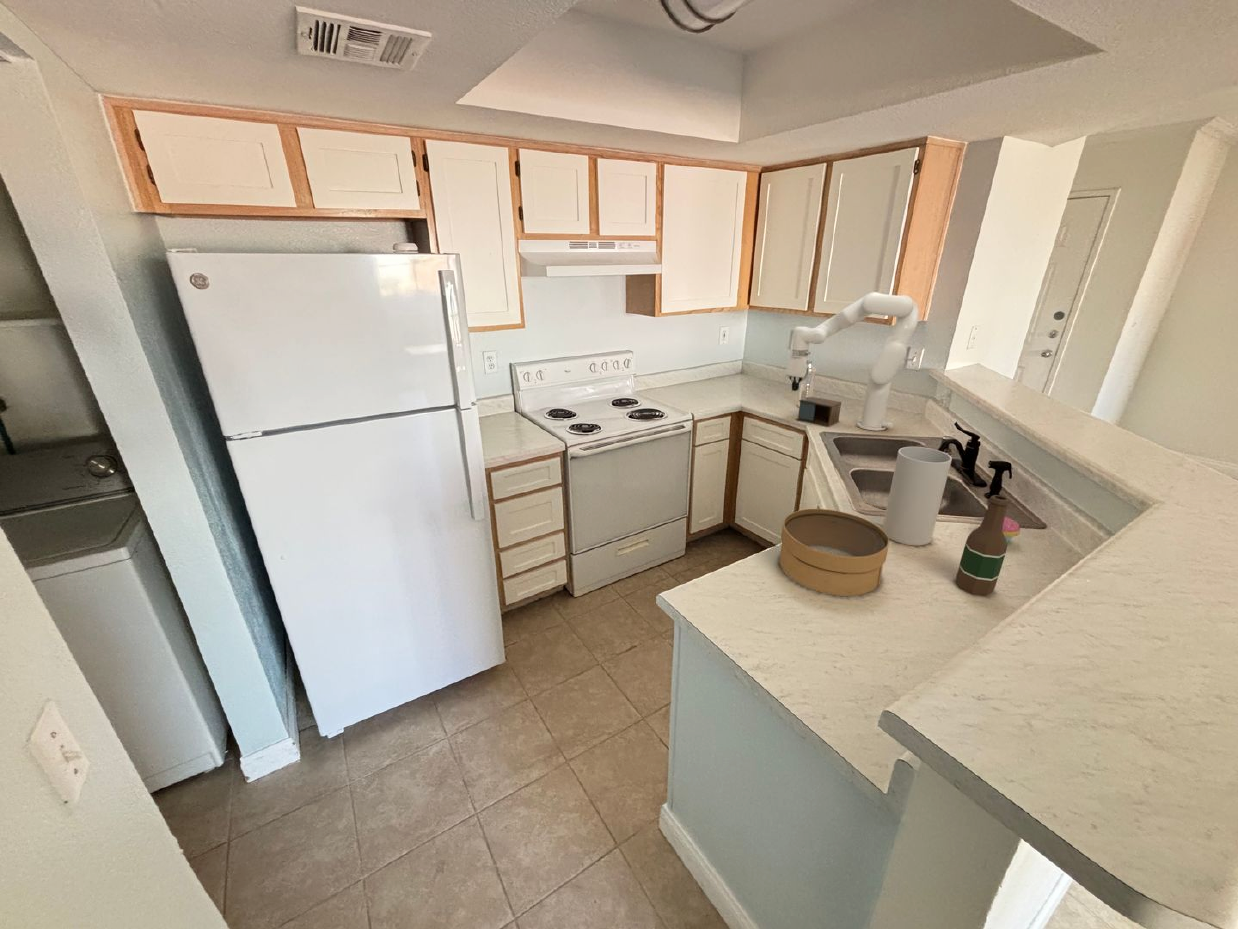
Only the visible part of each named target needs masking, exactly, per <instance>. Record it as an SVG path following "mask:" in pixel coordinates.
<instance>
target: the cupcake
mask: <svg viewBox="0 0 1238 929" xmlns="http://www.w3.org/2000/svg"><path fill="white" fill-rule="evenodd" d="M1020 533H1021V527H1020V525H1019V524H1018V522H1016V521H1015V520H1014V519H1012V518H1010V517H1008V516H1005V518H1004V523H1003V534H1004V536H1005V538H1006V541H1007V543H1009V542H1010V540H1011V539H1012V538H1013V537H1018V536H1019V535H1020Z"/></svg>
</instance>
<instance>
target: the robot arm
mask: <svg viewBox="0 0 1238 929" xmlns="http://www.w3.org/2000/svg"><path fill="white" fill-rule="evenodd" d="M873 314H874V315H880V316H886V317H894V318H896V319H895V323H894V325H893V327H892V329H891V331H890V333H889V335H888V337H887V338H886V340H885V342H884V343H883V345H882V347H881V350H880V353H879V355H878V356H877V359H876V361H875V362H873V363H872V365H871V367H870V369H869V373H868V380H867V387H866V392H865V398H864V405H863V410H862V415H861V420H860V421H858V422H857V423H856V426H857V427H858V428H860V429H862V430H866V431H867V430H868V431H874V432H875V431H876V432H877V431H884V430H886V429H887V428H890V429H893V425H894V424H893V422H890V421H887V418H885V416H886V411H887V406H888V401H889V397H890V392H891V386H892V381H893V379H894V377H895V376H896V374H897V372H898V370H899V368H900V367H901V365H902V363H903V361H904V360H905V357H906V355H907V352H908V350H907V349H908V348H907V347H908V345H909V342H910V341H911V338H912V337H913V334H914V332H915V331H916V329H917V326H918V323H919V320H920V319H919V318H920V315H919V308H918V306H917V304H916V302H915V301H914V299H913V298H911V297H910V296H909V295H906V294H901V295H894V294H885V293H880V292H879V291H871V292H869V293H867V294H866V295H864V296H862V297H861V298H859V299H858V300H856V301H854V302H853V303H851V304H849V305H848V306H846V307H845V308H844V309H842V310H840V311H839V312H837V313H836V314H835V315H833V316H831V317H830V318H828V319H826V320H825V321H823V322H821V323H820V324H819V325H817V326H815V327H813V328H812V327H811V328H810V327H809V326H801V325H800V326H796V327H794V329H793V336H792V344H791V352H790V353H791V354H790V355H789V356H788V360H787V364H786V368H785V377H786V378H787V379H789V380H790V382H791V391H793V392H797V391H799V390H800V383H801V381H802V380H807V376H808V375H809V361H810V355H811V351H809V346H810V344H814V345H821V344H823V343H825V341H826V340H827V339H828V338H831V337H832V336H833V335H835V334H837V333H838V332H841V331H842V330H844V329H848V328H850V327H852V326H854V325H856V324H857V323H859V322H861V321H863V320H864V319H865V318H867V317H869V316H871V315H873ZM802 377H803V378H802Z"/></svg>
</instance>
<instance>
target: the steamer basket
mask: <svg viewBox="0 0 1238 929" xmlns="http://www.w3.org/2000/svg"><path fill="white" fill-rule="evenodd" d="M780 539H781V546H780V553H779V565H780V567H781V570H783V572H784V573H785V574H786V575H787V576H788V577H789V578H790V579H792V580H793V581H795V582H796V583H798V584H800V585H801V586H803V587H805V588H808V589H810V590H812V591H816V592H820V593H822V594H827V595H830V596H831V595H833V596H841V597H856V596H860V595H861V596H862V595H864V594H868V593H871V592H872V591H874V590H875V589H876V588H878V587H879V585H880V584H881V579H882V574H883V573H882V572H883V566H884V564H886V561H887V559H888V558H887V557H888V552H889V548H890V547H889V546H890V538H889V537H888V535H887V534H886V533H885V532H884V531H883V530H882V528H881V527H880V526H878V525H877V524H875V523H873V522H871V521H869V520H867V519H865V518H863V517H861V516H858V515H855V514H851V513H848V512H844V511H839V510H834V509H826V508H807V509H800V510H796V511H793V512H791V513H789V514H788V515H786V516H785V518H784V519H783V521H782V527H781V535H780ZM811 546H813V547H811ZM817 547H819V548H817ZM827 547H828V548H827Z"/></svg>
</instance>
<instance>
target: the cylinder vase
mask: <svg viewBox="0 0 1238 929" xmlns="http://www.w3.org/2000/svg"><path fill="white" fill-rule="evenodd" d="M952 460H953V457H952V456H951V455H949V454H948V453H946V452H944V451H941V450H938V449H934V448H929V447H924V446H905V447H901V448H899V449H898V451H897V456H896V461H895V467H894V471H893V474H892V475H893V476H892V481H891V485H890V489H889V495H888V499H887V504H886V507H885V508H886V510H885V513H884V518H883V523H882V528H881V529H882V530H883V531H884V532H885V533H886V534H887V535H888V537H889V540H892V541H894V542H897V543H899V544H903V545H905V546H912V547H913V546H914V547H915V546H916V547H919V546H925V545H927V544H930V543H931V541H932V539H933V535H934V531H935V528H936V524H937V519H938V515H939V512H940V507H941V503H942V500H943V496H944V492H945V488H946V483H947V481H948V477H949V473H950V469H951V468H950V467H951V465H952Z"/></svg>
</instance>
